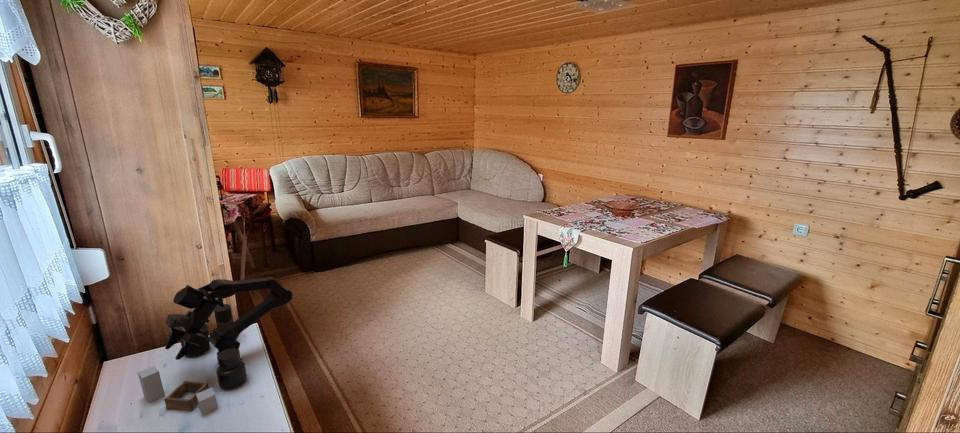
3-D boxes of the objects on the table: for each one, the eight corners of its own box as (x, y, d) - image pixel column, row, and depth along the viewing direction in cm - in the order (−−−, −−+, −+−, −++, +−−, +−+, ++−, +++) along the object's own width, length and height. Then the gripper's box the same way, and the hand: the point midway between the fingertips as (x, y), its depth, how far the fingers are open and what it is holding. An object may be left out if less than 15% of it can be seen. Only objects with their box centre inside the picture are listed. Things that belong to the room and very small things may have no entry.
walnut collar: (186, 390, 142) (184, 380, 140) (209, 392, 141) (207, 383, 140) (166, 408, 133) (164, 399, 132) (191, 411, 133) (188, 401, 132)
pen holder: (216, 348, 164) (212, 326, 161) (192, 361, 156) (187, 339, 153) (201, 341, 168) (197, 320, 165) (177, 354, 160) (172, 332, 157)
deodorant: (231, 333, 174) (226, 302, 170) (238, 338, 171) (233, 307, 166) (216, 339, 170) (210, 308, 165) (223, 345, 166) (217, 313, 162)
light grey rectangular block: (160, 389, 142) (154, 365, 139) (164, 395, 139) (158, 371, 136) (144, 397, 138) (137, 372, 135) (148, 403, 136) (142, 378, 133)
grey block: (214, 400, 138) (211, 387, 136) (217, 408, 135) (215, 394, 133) (198, 407, 135) (195, 394, 133) (202, 415, 131) (199, 401, 130)
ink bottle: (244, 370, 152) (239, 342, 149) (252, 382, 146) (247, 354, 143) (214, 382, 146) (209, 354, 142) (221, 395, 140) (215, 366, 136)
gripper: (169, 296, 144) (138, 337, 139) (191, 314, 134) (158, 359, 129) (198, 307, 153) (169, 346, 148) (220, 324, 143) (190, 367, 137)
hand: (171, 354), depth 140 cm, fingers open, 9 cm apart
